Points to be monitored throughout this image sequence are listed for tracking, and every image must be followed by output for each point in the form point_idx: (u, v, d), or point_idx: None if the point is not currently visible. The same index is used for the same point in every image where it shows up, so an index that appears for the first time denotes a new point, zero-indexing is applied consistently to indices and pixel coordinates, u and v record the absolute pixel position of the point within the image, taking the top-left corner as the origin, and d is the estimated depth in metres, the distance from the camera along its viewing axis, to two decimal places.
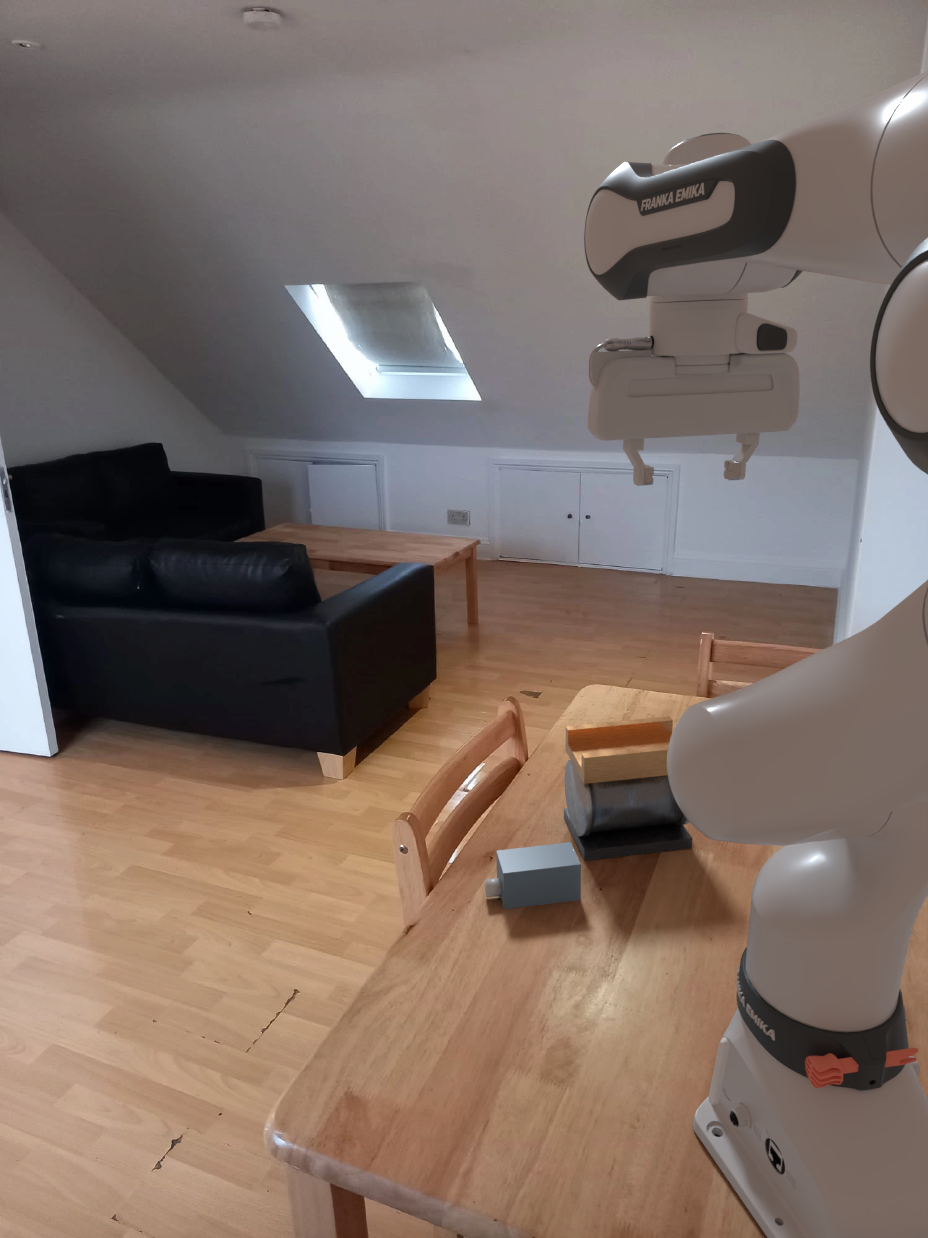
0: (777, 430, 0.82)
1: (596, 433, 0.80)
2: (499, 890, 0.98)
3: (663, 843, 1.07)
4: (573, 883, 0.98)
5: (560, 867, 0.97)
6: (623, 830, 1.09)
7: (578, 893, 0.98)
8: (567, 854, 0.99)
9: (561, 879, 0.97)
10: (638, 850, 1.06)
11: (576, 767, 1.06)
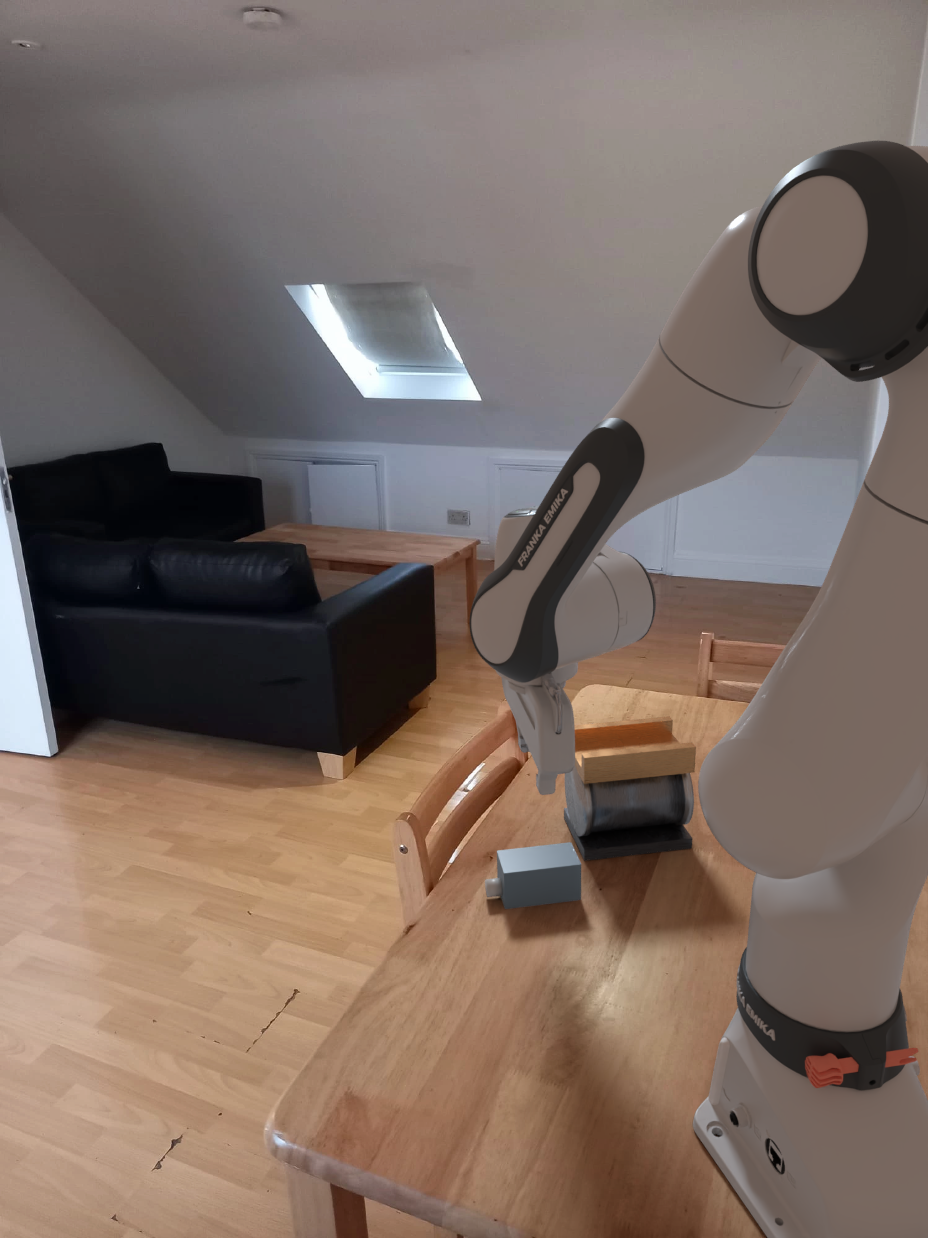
0: None
1: (569, 770, 0.84)
2: (500, 890, 0.98)
3: (663, 843, 1.07)
4: (573, 884, 0.98)
5: (560, 867, 0.97)
6: (623, 830, 1.09)
7: (578, 893, 0.98)
8: (568, 854, 0.99)
9: (562, 879, 0.97)
10: (638, 850, 1.06)
11: (576, 767, 1.06)
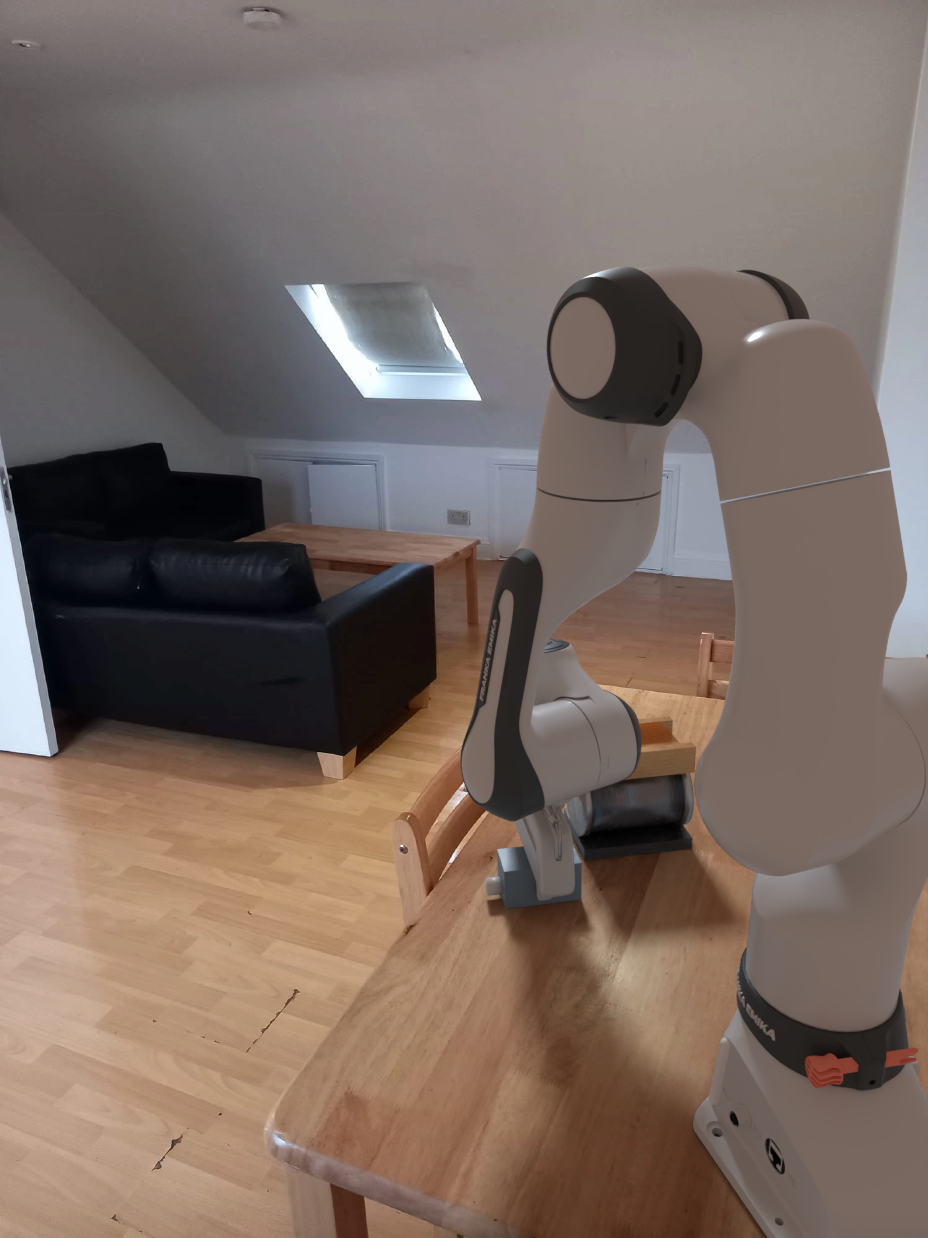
0: None
1: (569, 893, 0.89)
2: (500, 889, 0.98)
3: (663, 843, 1.07)
4: None
5: None
6: (623, 830, 1.09)
7: (579, 892, 0.98)
8: None
9: None
10: (638, 850, 1.06)
11: None
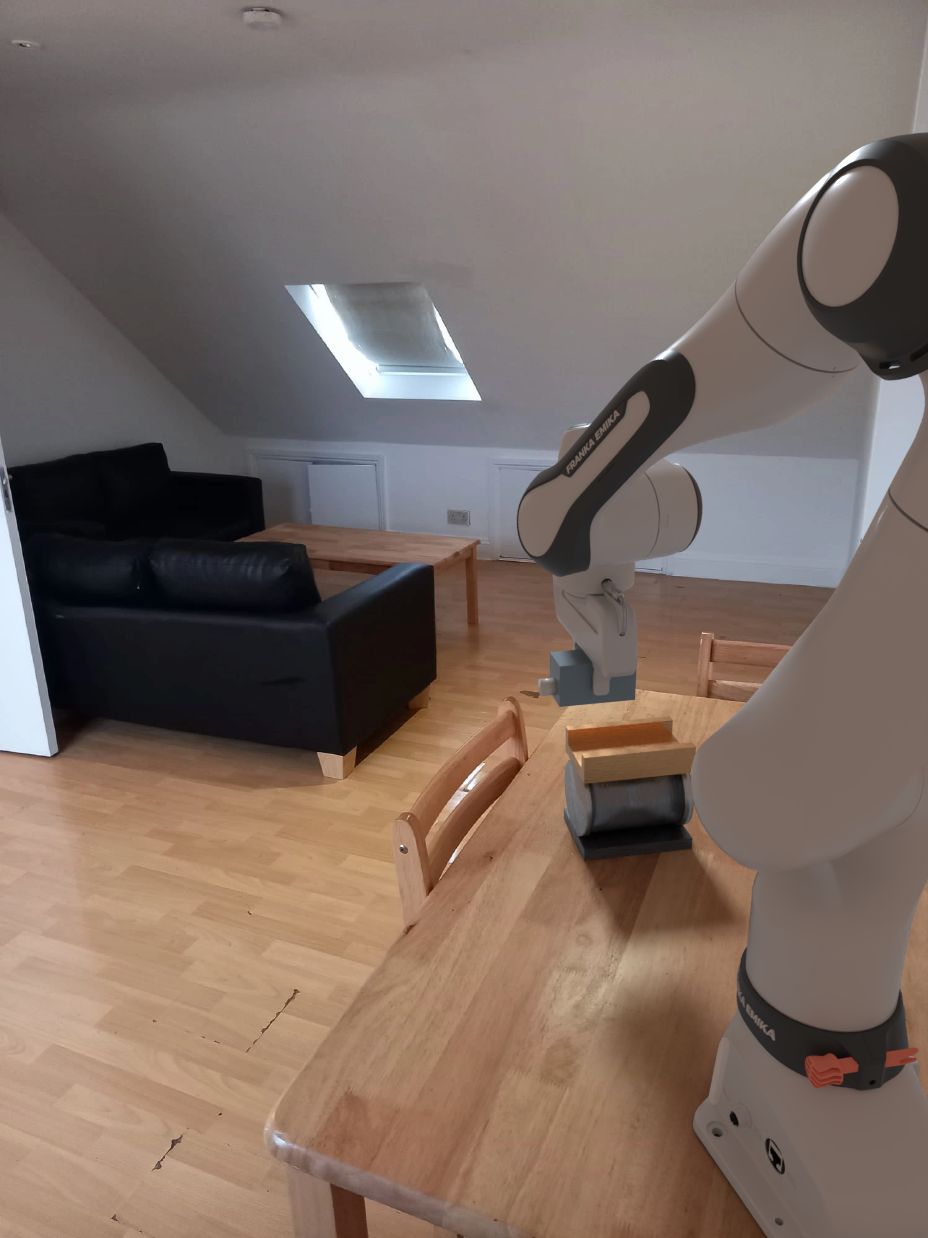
0: None
1: (631, 671, 0.88)
2: (554, 688, 0.98)
3: (663, 843, 1.07)
4: (628, 680, 0.97)
5: None
6: (623, 830, 1.09)
7: (633, 691, 0.98)
8: None
9: None
10: (638, 850, 1.06)
11: (576, 767, 1.06)
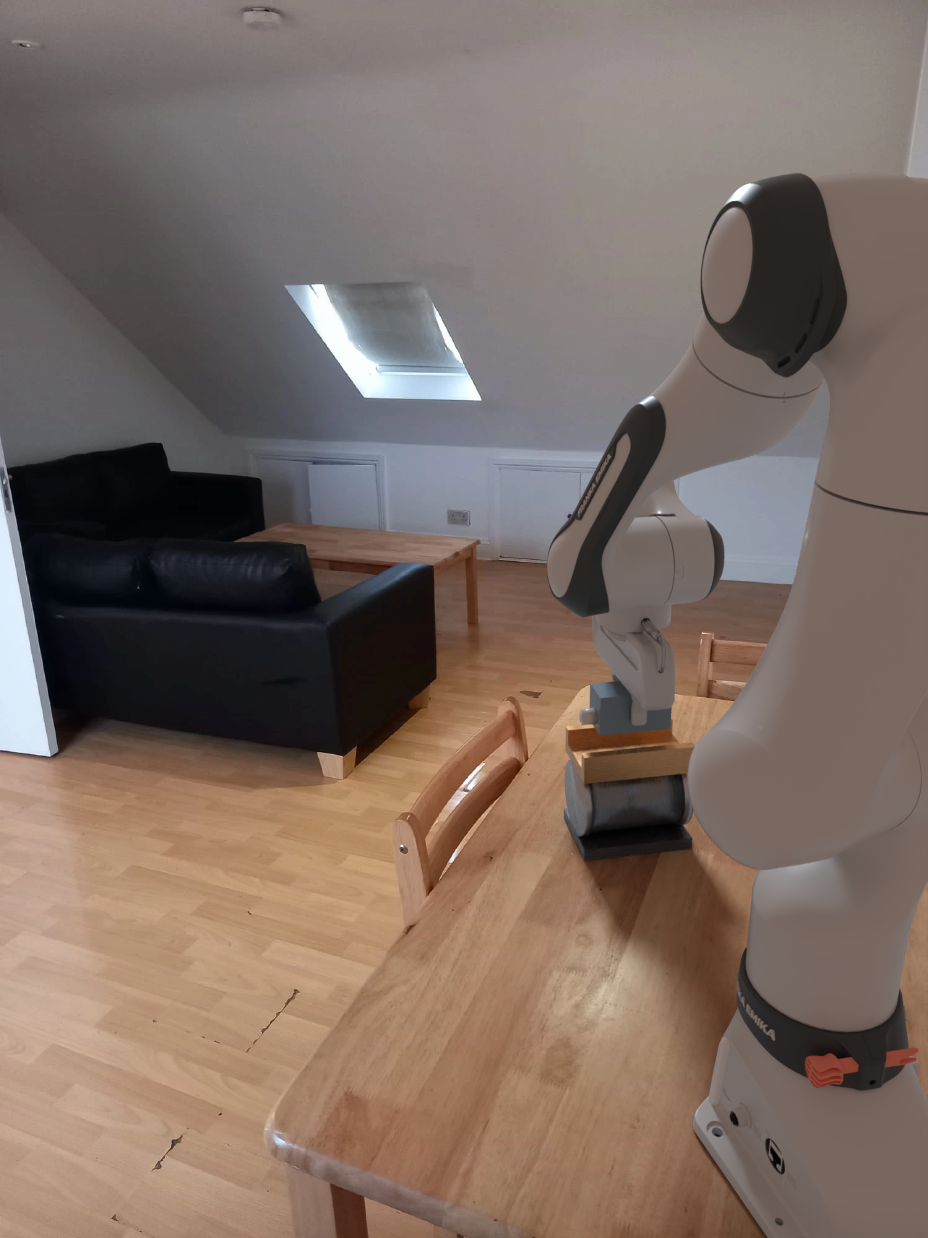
0: None
1: (669, 705, 0.95)
2: (594, 717, 1.04)
3: (663, 843, 1.07)
4: (664, 711, 1.04)
5: None
6: (623, 830, 1.09)
7: (668, 721, 1.04)
8: None
9: None
10: (638, 850, 1.06)
11: (576, 767, 1.06)
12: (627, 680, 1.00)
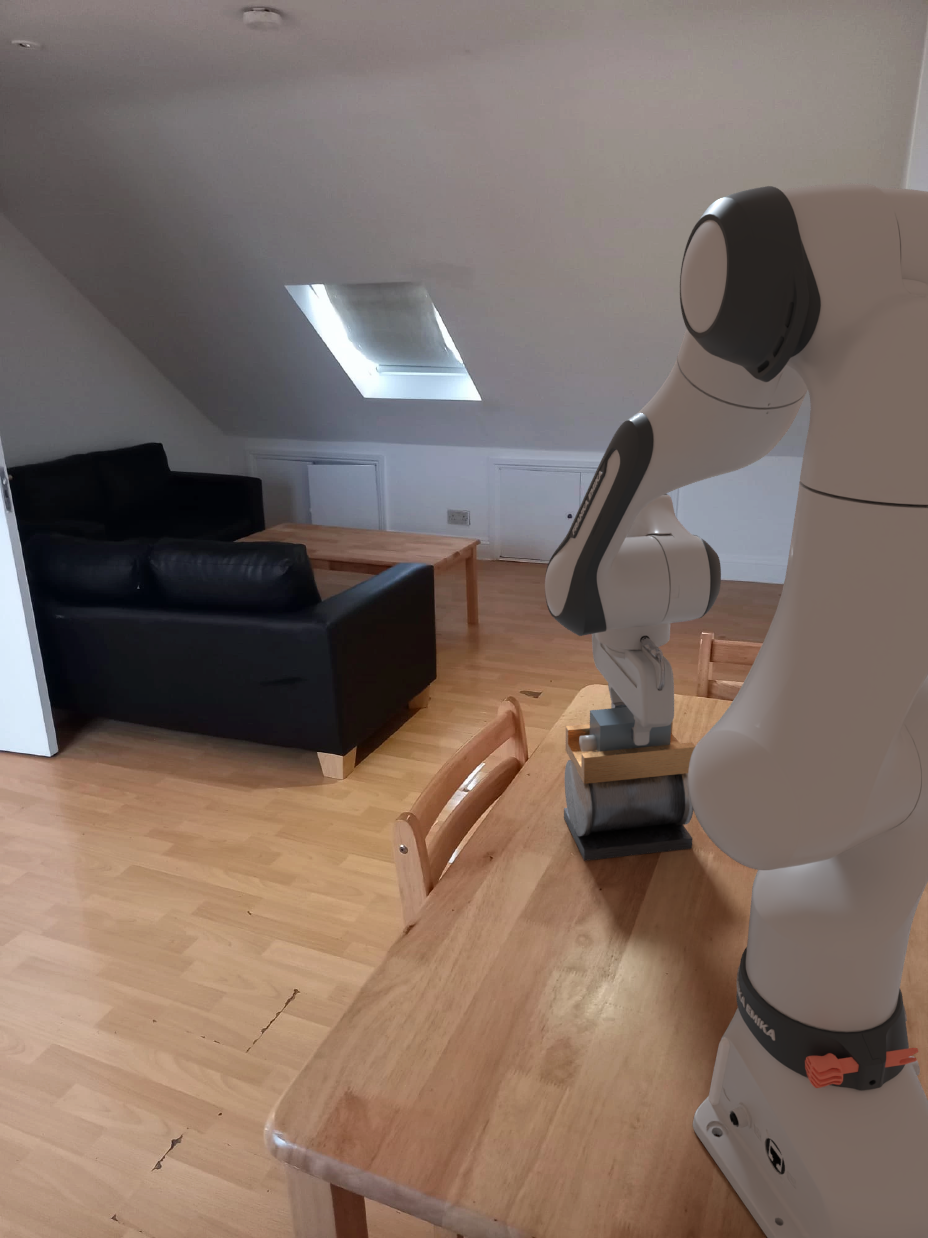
0: None
1: (668, 723, 0.96)
2: (594, 744, 1.05)
3: (663, 843, 1.07)
4: (663, 738, 1.05)
5: None
6: (623, 830, 1.09)
7: None
8: None
9: (653, 733, 1.05)
10: (638, 850, 1.06)
11: (576, 767, 1.06)
12: (627, 697, 1.00)
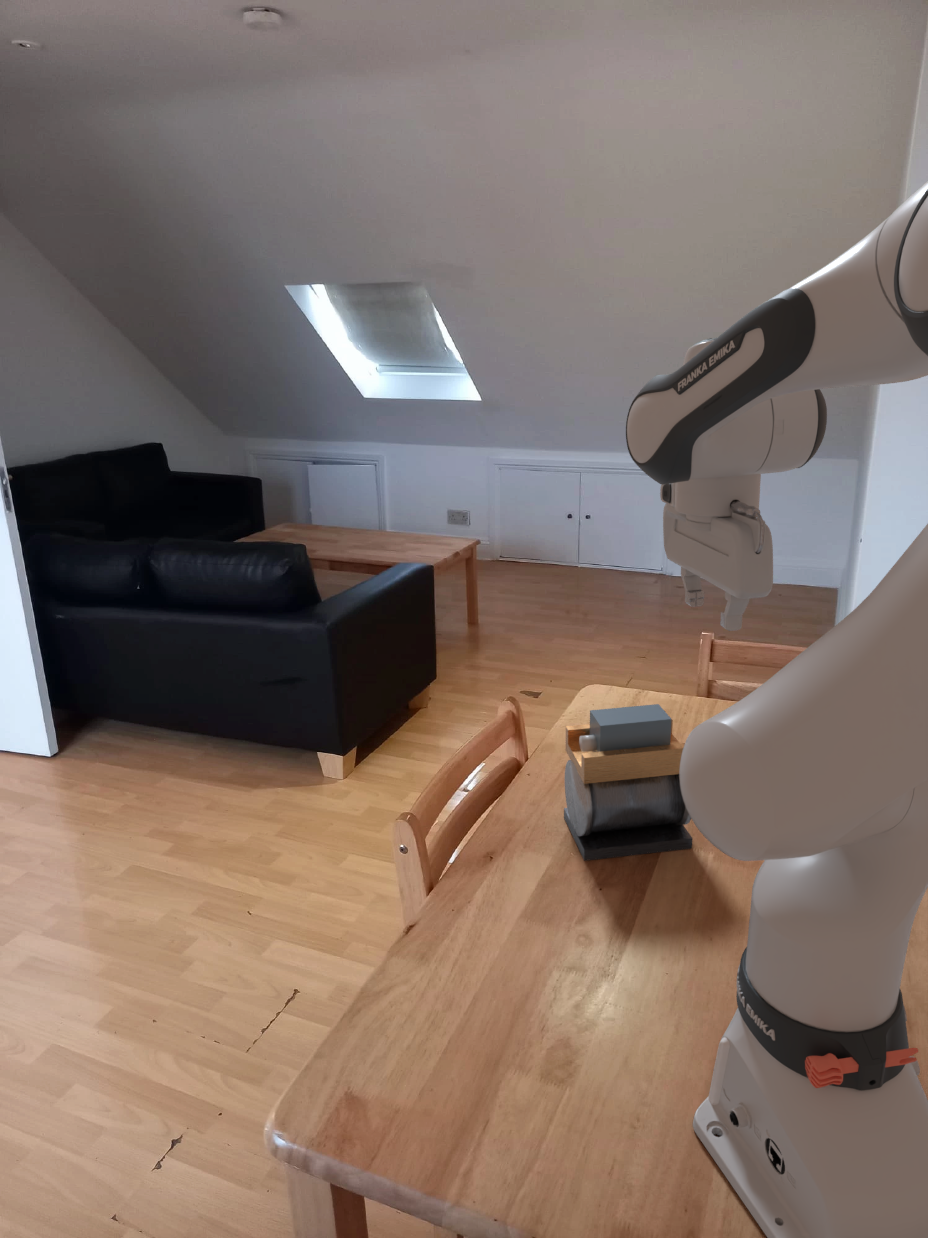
0: None
1: (767, 592, 0.85)
2: (594, 744, 1.05)
3: (663, 843, 1.07)
4: (663, 738, 1.05)
5: (652, 721, 1.04)
6: (623, 830, 1.09)
7: None
8: (657, 712, 1.06)
9: (653, 733, 1.05)
10: (638, 850, 1.06)
11: (576, 767, 1.06)
12: (714, 572, 0.90)
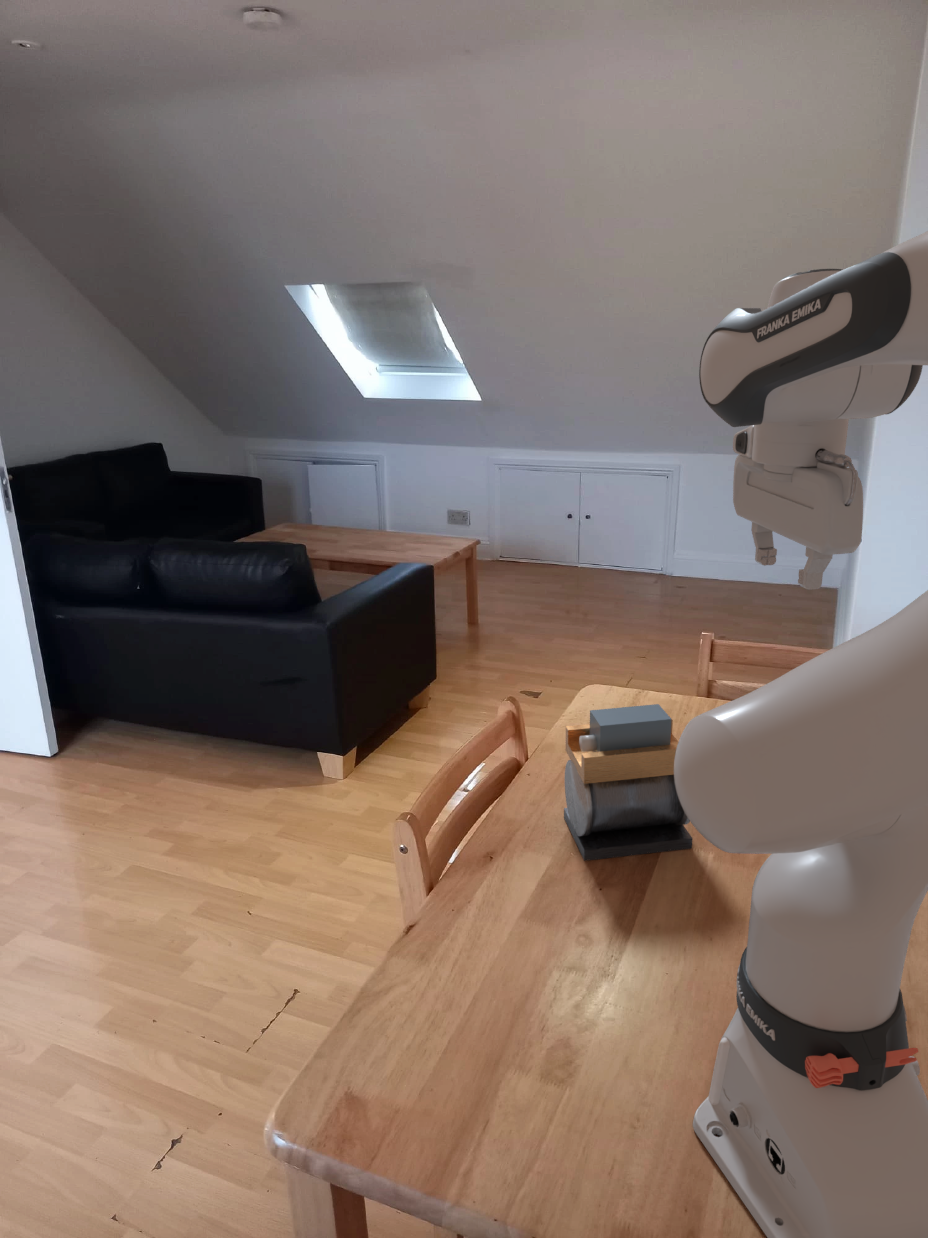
0: None
1: (854, 547, 0.80)
2: (594, 744, 1.05)
3: (663, 843, 1.07)
4: (663, 738, 1.05)
5: (652, 721, 1.04)
6: (623, 830, 1.09)
7: None
8: (657, 712, 1.06)
9: (653, 733, 1.05)
10: (638, 850, 1.06)
11: (576, 767, 1.06)
12: (794, 527, 0.85)
